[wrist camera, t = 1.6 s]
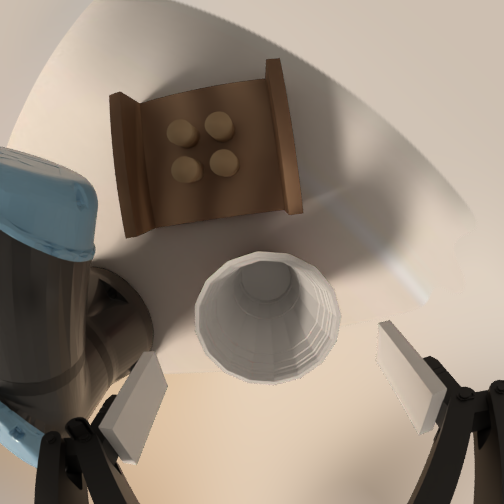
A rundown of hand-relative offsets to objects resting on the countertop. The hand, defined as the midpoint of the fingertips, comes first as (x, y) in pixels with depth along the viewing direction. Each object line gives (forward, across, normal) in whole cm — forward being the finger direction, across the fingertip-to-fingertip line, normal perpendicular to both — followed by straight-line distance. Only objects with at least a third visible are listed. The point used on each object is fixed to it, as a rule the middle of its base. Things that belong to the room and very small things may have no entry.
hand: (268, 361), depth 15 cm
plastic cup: (+17, 0, 0) cm, 17 cm away
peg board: (+17, -4, +14) cm, 22 cm away
